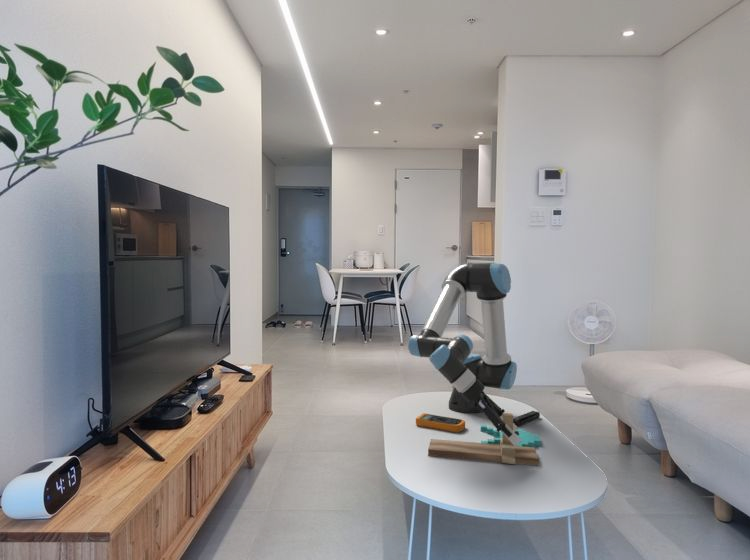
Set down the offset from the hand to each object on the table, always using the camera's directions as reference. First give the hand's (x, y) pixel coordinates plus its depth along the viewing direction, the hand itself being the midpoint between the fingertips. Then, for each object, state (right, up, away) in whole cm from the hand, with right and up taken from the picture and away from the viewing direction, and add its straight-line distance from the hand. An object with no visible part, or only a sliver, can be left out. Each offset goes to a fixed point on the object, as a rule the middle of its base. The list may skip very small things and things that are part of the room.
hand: (516, 436), depth 159 cm
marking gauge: (-3, -6, -1) cm, 7 cm away
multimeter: (-20, -6, +31) cm, 37 cm away
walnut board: (-11, -6, +2) cm, 13 cm away
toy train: (+15, -7, +38) cm, 42 cm away
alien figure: (+2, -7, +16) cm, 18 cm away
